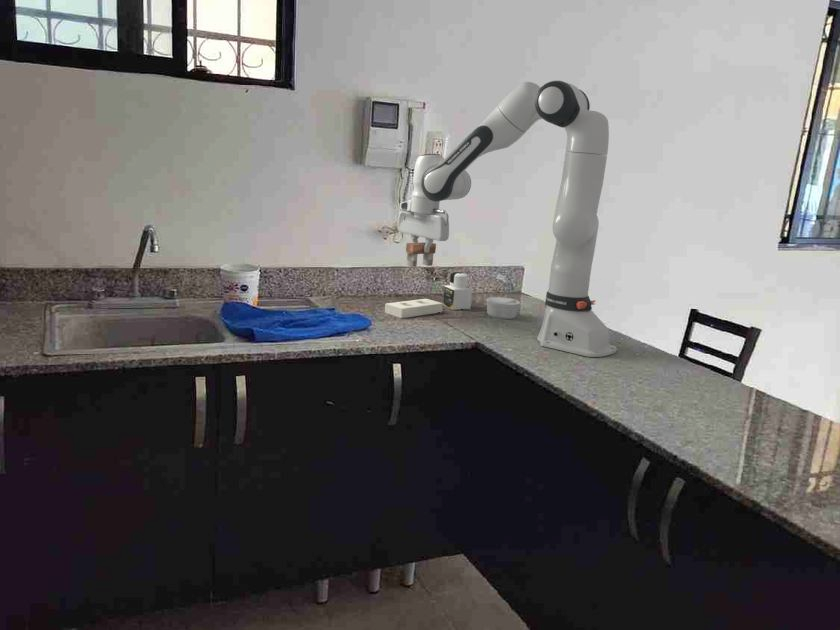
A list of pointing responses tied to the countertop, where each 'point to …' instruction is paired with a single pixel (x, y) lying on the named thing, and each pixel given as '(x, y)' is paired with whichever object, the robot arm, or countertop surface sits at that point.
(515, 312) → the ramekin
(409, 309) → the white flat block
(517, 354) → the countertop surface
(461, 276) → the medicine bottle
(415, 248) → the clip
